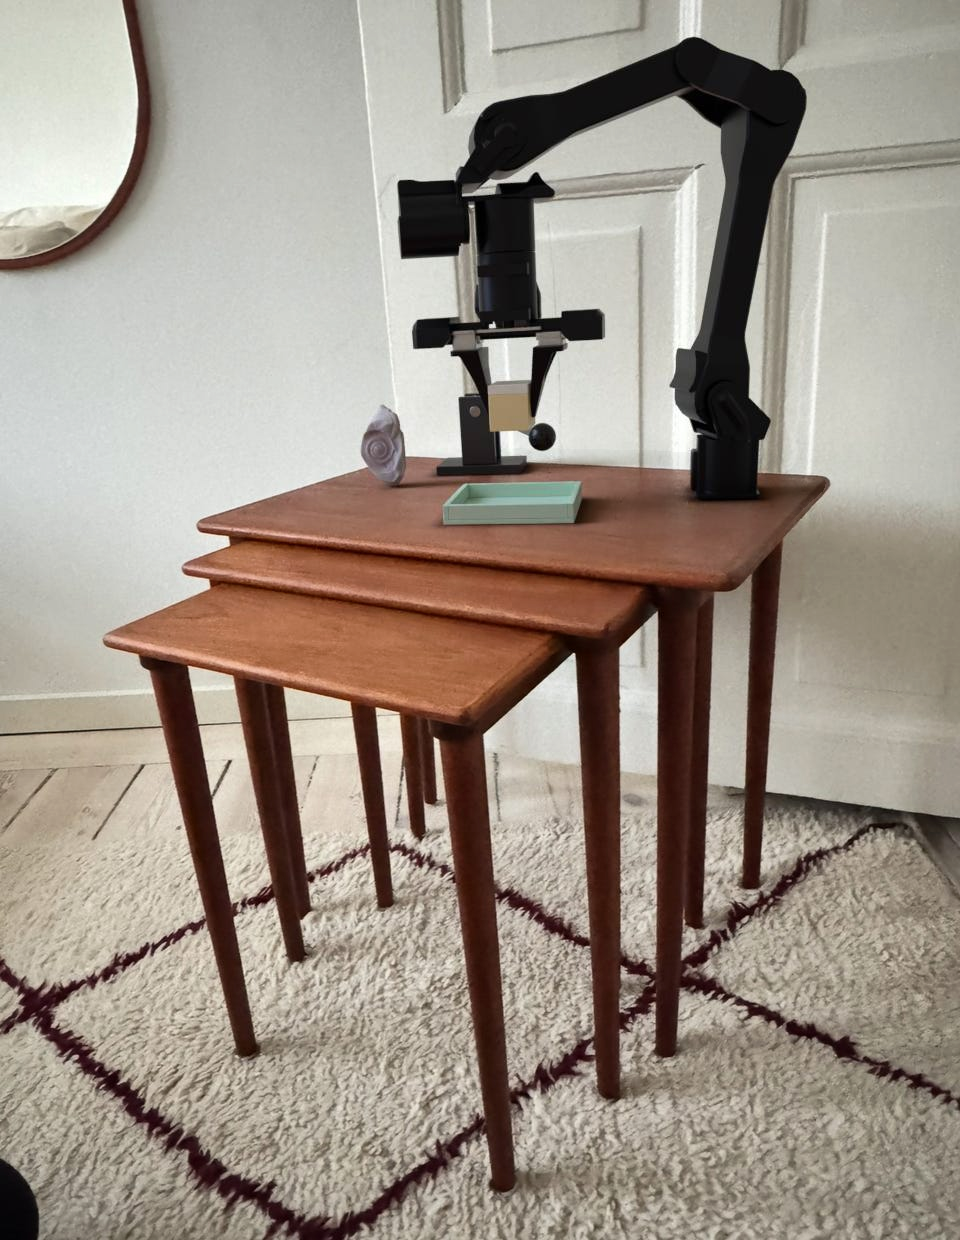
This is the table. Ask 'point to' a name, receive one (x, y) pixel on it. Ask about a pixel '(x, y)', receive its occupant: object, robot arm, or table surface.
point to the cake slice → (510, 406)
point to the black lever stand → (479, 444)
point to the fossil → (384, 447)
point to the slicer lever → (541, 436)
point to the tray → (514, 503)
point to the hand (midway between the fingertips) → (513, 417)
